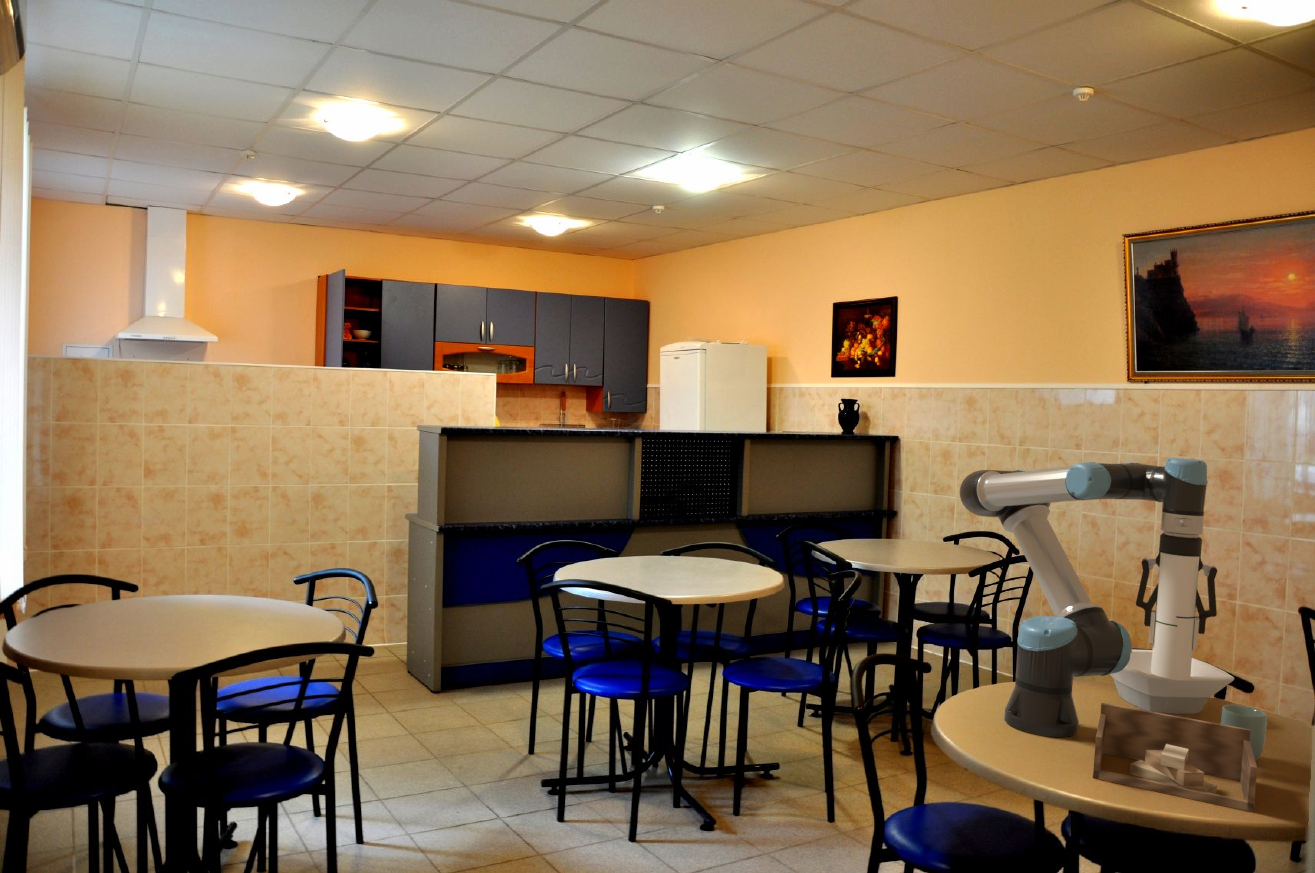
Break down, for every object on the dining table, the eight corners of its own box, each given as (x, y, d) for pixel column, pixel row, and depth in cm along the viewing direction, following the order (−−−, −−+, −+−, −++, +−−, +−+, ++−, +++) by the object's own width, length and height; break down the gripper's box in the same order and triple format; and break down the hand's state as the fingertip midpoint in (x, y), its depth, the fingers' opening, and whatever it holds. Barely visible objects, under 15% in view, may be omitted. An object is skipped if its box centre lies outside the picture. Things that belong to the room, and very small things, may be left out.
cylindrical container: (1195, 681, 191) (1205, 557, 190) (1157, 677, 192) (1166, 554, 191) (1183, 671, 198) (1192, 552, 197) (1146, 668, 199) (1155, 549, 198)
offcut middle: (1144, 762, 185) (1145, 749, 185) (1163, 762, 185) (1164, 749, 185) (1183, 785, 174) (1184, 772, 174) (1203, 785, 175) (1204, 772, 174)
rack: (1092, 777, 181) (1096, 725, 180) (1097, 750, 196) (1101, 702, 195) (1253, 812, 169) (1258, 756, 168) (1245, 780, 184) (1250, 729, 183)
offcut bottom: (1129, 776, 184) (1130, 763, 184) (1139, 772, 186) (1140, 759, 186) (1206, 803, 173) (1207, 789, 173) (1216, 798, 175) (1217, 785, 175)
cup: (1209, 753, 198) (1213, 705, 197) (1235, 749, 201) (1239, 702, 200) (1246, 767, 190) (1250, 718, 190) (1271, 763, 193) (1275, 715, 193)
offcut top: (1165, 753, 183) (1166, 743, 183) (1187, 759, 181) (1188, 748, 181) (1160, 764, 177) (1161, 754, 177) (1183, 770, 175) (1184, 759, 175)
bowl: (1081, 687, 241) (1084, 647, 240) (1174, 689, 243) (1177, 650, 243) (1140, 720, 216) (1143, 676, 216) (1242, 722, 219) (1245, 678, 219)
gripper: (1125, 530, 195) (1117, 641, 196) (1240, 542, 186) (1230, 658, 187) (1127, 527, 202) (1118, 633, 203) (1237, 538, 192) (1228, 650, 193)
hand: (1172, 645), depth 195 cm, fingers closed on cylindrical container, 7 cm apart
